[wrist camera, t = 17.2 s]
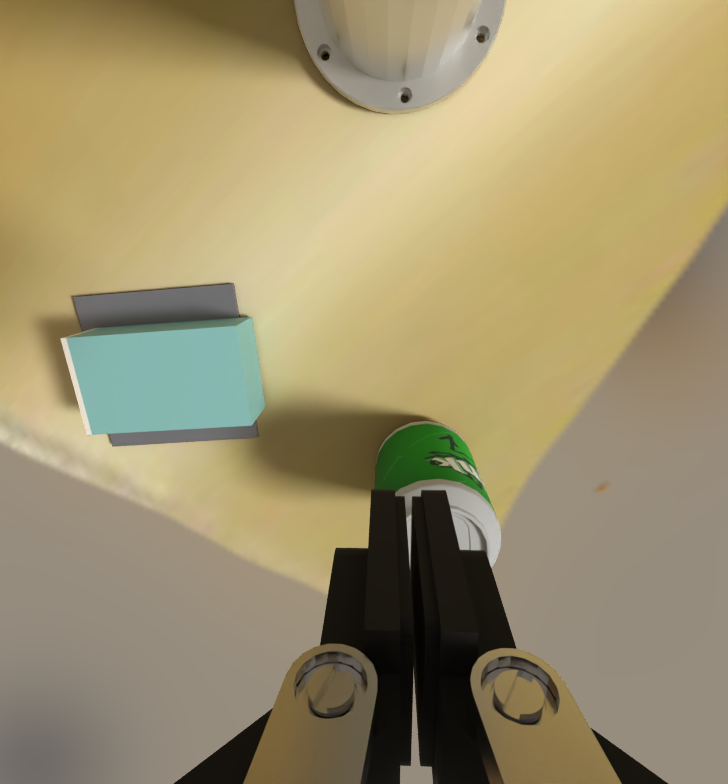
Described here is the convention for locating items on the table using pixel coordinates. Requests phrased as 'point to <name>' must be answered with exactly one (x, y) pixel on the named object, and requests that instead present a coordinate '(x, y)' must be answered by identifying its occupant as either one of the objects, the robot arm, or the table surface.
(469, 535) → the soda can
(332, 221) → the table surface
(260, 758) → the robot arm
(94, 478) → the table surface
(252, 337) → the teal block
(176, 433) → the rubber mat
